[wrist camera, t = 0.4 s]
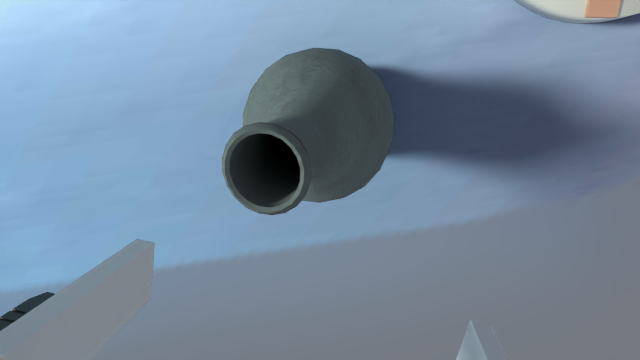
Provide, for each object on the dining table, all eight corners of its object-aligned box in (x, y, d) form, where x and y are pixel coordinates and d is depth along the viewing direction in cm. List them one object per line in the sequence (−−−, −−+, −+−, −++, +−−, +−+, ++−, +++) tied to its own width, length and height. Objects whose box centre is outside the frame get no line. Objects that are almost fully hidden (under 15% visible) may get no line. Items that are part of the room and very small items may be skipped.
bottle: (397, 133, 39) (472, 264, 11) (318, 164, 41) (201, 345, 12) (365, 48, 38) (350, -73, 9) (284, 84, 40) (59, 81, 11)
